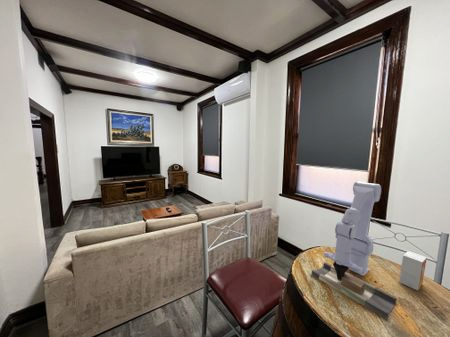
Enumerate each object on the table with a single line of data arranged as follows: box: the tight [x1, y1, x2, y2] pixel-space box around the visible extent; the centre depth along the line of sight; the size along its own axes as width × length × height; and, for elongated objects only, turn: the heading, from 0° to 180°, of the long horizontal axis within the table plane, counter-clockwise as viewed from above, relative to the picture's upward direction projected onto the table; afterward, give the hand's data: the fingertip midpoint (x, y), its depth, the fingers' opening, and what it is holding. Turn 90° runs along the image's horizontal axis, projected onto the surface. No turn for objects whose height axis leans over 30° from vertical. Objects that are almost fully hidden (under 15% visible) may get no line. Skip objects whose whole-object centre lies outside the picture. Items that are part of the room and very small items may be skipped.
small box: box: [398, 250, 428, 291], centre depth 83 cm, size 8×6×13 cm
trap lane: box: [311, 261, 398, 320], centre depth 78 cm, size 13×27×2 cm, turn 36°
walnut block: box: [341, 272, 366, 296], centre depth 77 cm, size 5×7×4 cm
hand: (339, 279), depth 81 cm, fingers closed
